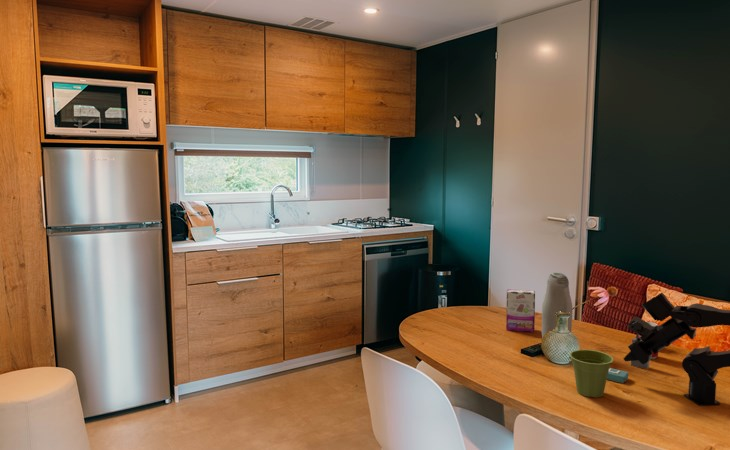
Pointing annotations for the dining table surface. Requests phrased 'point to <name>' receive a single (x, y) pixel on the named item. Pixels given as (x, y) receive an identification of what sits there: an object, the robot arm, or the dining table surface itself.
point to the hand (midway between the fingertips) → (624, 359)
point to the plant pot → (591, 371)
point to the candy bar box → (520, 310)
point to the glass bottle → (556, 301)
